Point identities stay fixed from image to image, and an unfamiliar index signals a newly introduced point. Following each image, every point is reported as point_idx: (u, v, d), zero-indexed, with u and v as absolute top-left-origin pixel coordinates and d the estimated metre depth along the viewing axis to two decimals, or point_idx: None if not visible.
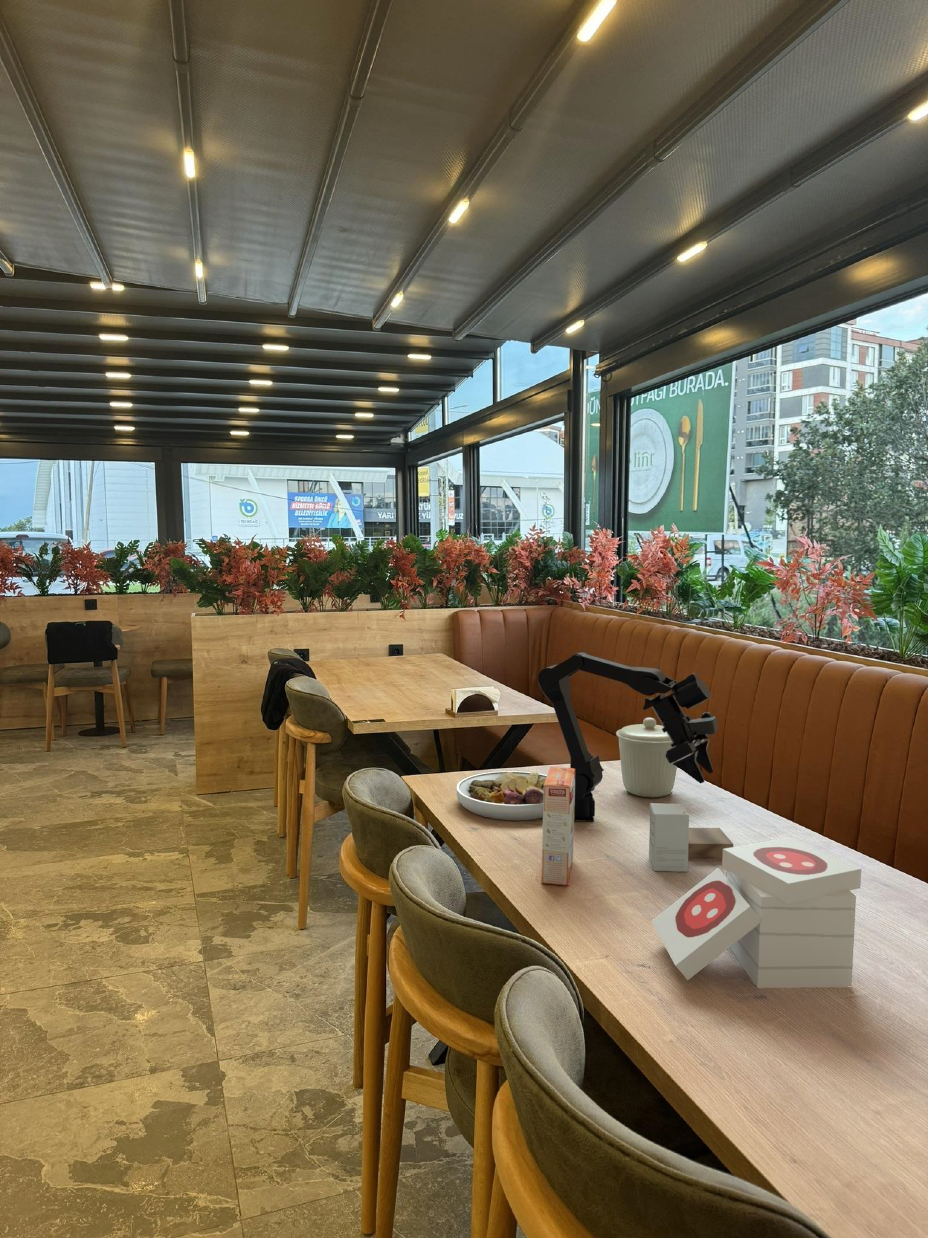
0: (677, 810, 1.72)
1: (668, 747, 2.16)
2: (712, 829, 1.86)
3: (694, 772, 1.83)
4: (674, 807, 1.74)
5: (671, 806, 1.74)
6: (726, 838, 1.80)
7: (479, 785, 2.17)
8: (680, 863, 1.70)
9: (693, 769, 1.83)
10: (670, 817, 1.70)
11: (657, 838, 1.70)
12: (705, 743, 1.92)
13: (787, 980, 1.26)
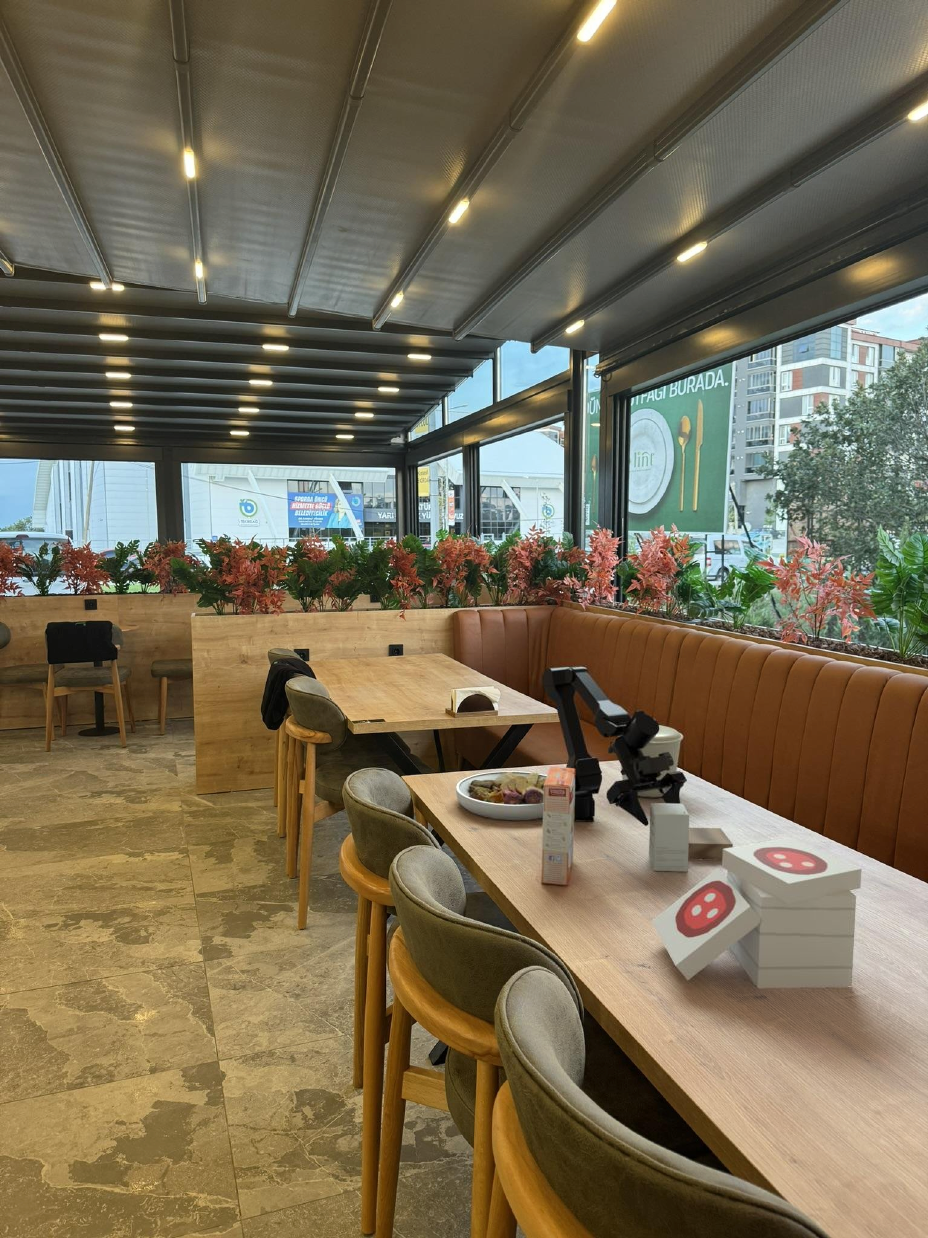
0: (677, 810, 1.71)
1: (668, 747, 2.16)
2: (713, 829, 1.86)
3: (637, 813, 1.74)
4: (674, 806, 1.74)
5: (671, 806, 1.74)
6: (726, 838, 1.80)
7: (479, 785, 2.17)
8: (680, 863, 1.70)
9: (635, 810, 1.74)
10: (670, 817, 1.70)
11: (657, 838, 1.70)
12: (673, 786, 1.79)
13: (787, 980, 1.26)
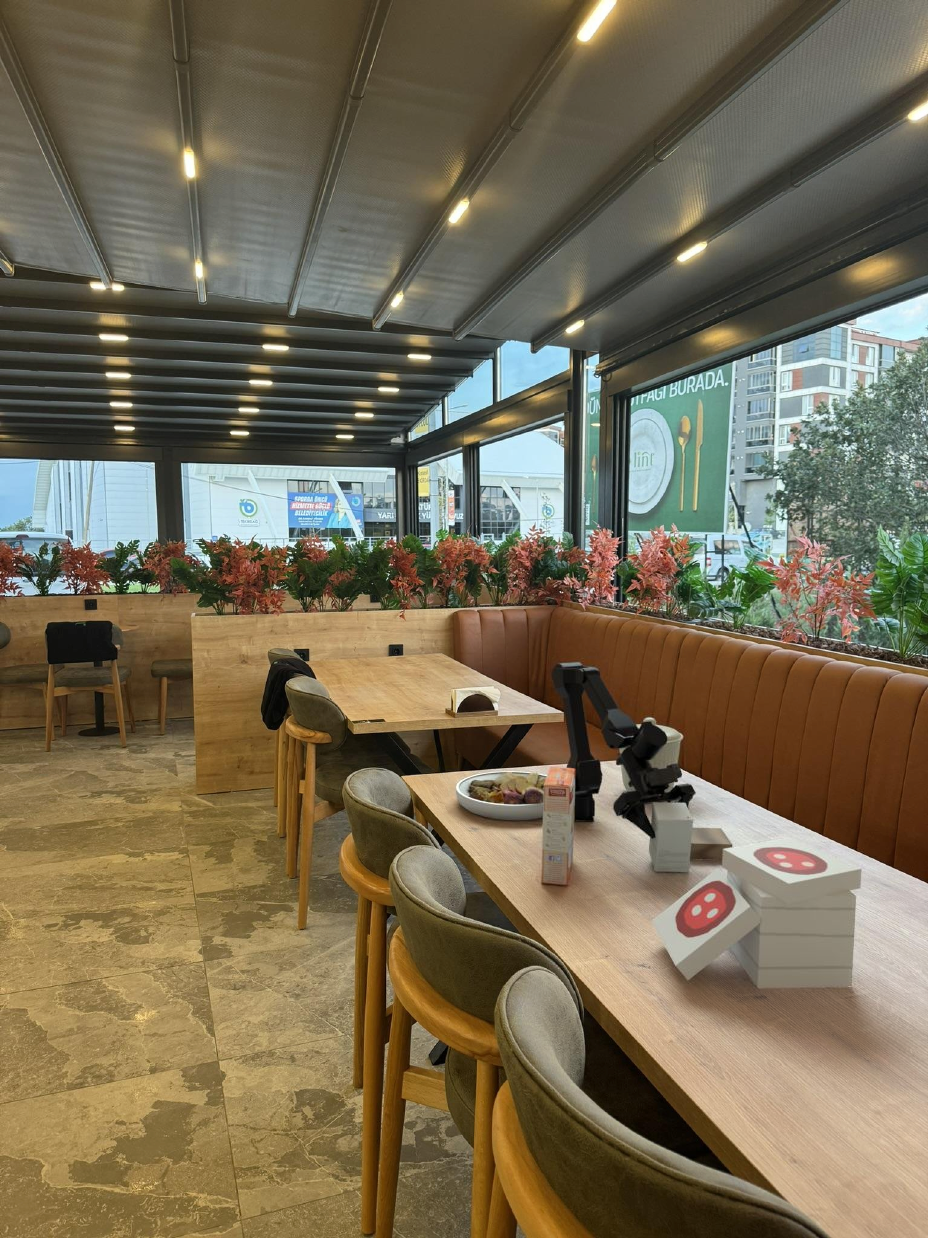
0: (681, 814, 1.69)
1: (668, 747, 2.16)
2: (714, 829, 1.86)
3: (643, 826, 1.71)
4: (677, 808, 1.71)
5: (674, 807, 1.71)
6: (726, 838, 1.80)
7: (479, 785, 2.17)
8: (681, 865, 1.70)
9: (642, 822, 1.71)
10: (674, 823, 1.67)
11: (660, 842, 1.68)
12: (682, 799, 1.76)
13: (787, 980, 1.26)
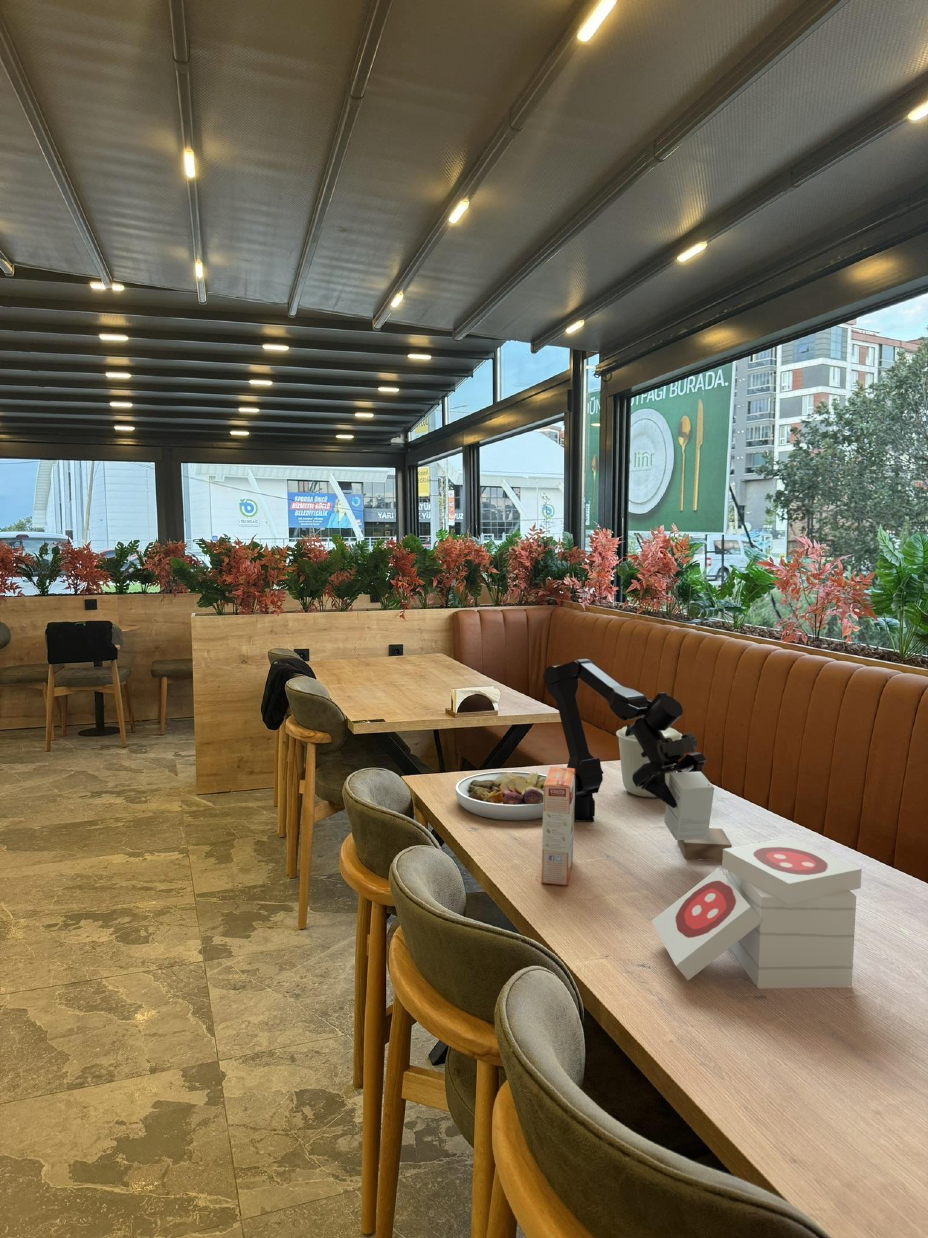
0: (701, 782, 1.72)
1: None
2: (715, 829, 1.86)
3: (664, 796, 1.73)
4: (695, 777, 1.74)
5: (692, 776, 1.74)
6: (726, 839, 1.80)
7: (478, 785, 2.17)
8: (701, 832, 1.73)
9: (663, 792, 1.73)
10: (696, 791, 1.70)
11: (682, 810, 1.71)
12: (695, 767, 1.79)
13: (787, 980, 1.26)
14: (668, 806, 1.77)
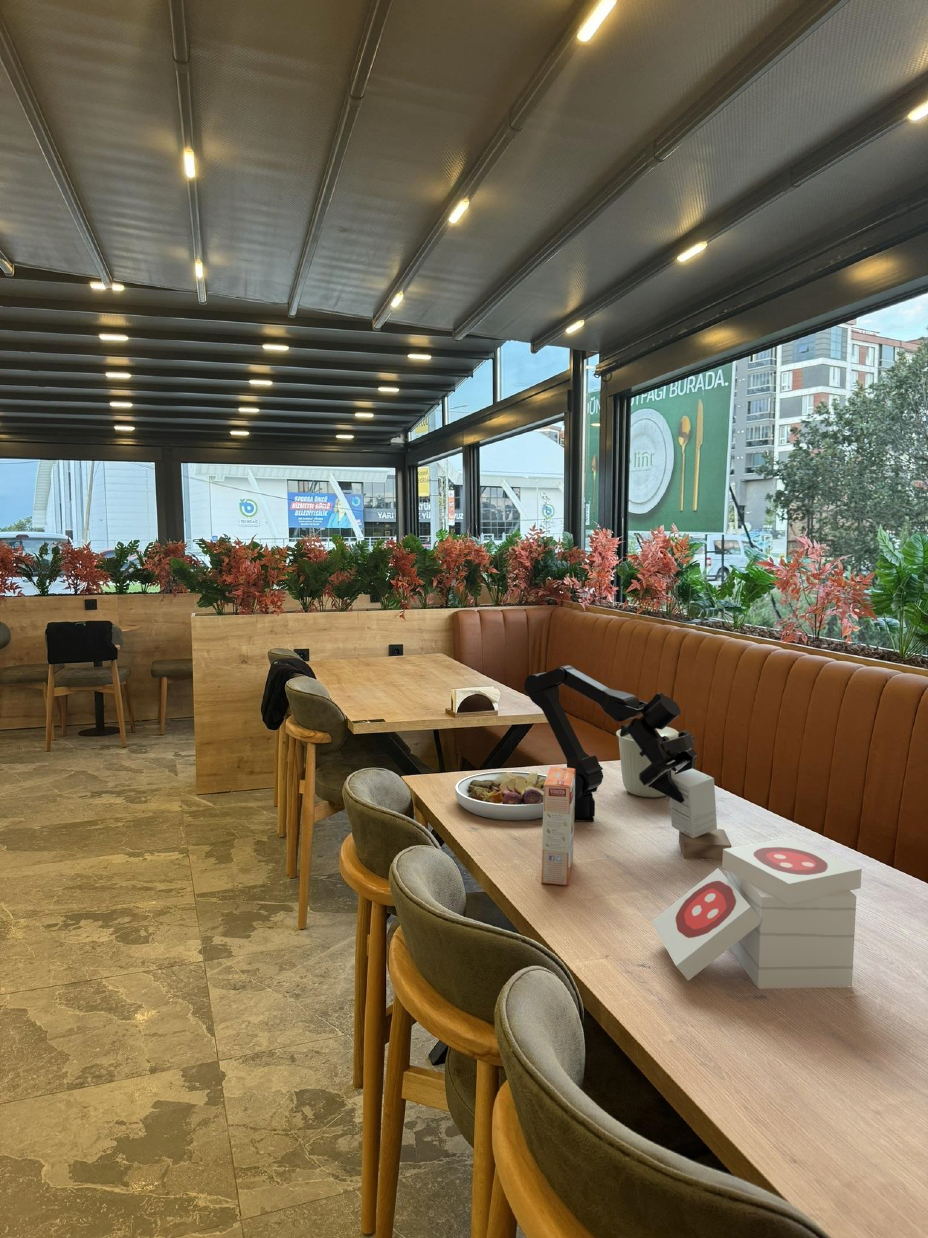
0: (700, 777, 1.81)
1: None
2: (716, 830, 1.85)
3: (671, 792, 1.80)
4: (692, 774, 1.83)
5: (689, 774, 1.83)
6: (726, 840, 1.79)
7: (478, 785, 2.17)
8: (711, 823, 1.82)
9: (670, 789, 1.80)
10: (701, 786, 1.79)
11: (693, 808, 1.79)
12: (690, 763, 1.88)
13: (787, 980, 1.26)
14: (674, 809, 1.84)
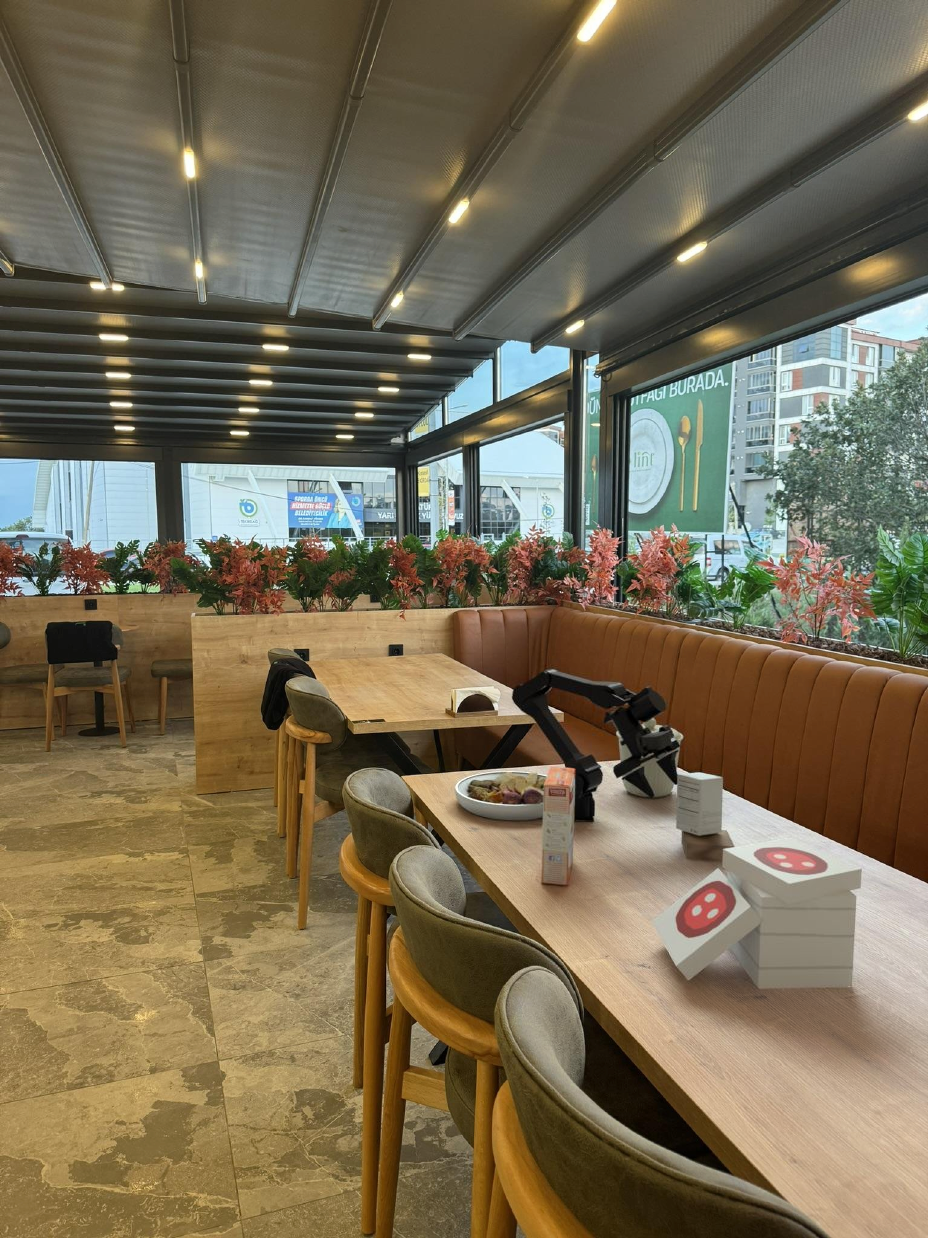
0: (709, 776, 1.84)
1: None
2: None
3: (643, 787, 1.86)
4: (700, 774, 1.86)
5: (697, 774, 1.86)
6: (729, 840, 1.79)
7: (478, 785, 2.17)
8: (717, 825, 1.82)
9: (641, 784, 1.86)
10: (711, 782, 1.81)
11: (702, 803, 1.79)
12: (670, 755, 1.92)
13: (787, 980, 1.26)
14: (680, 808, 1.84)
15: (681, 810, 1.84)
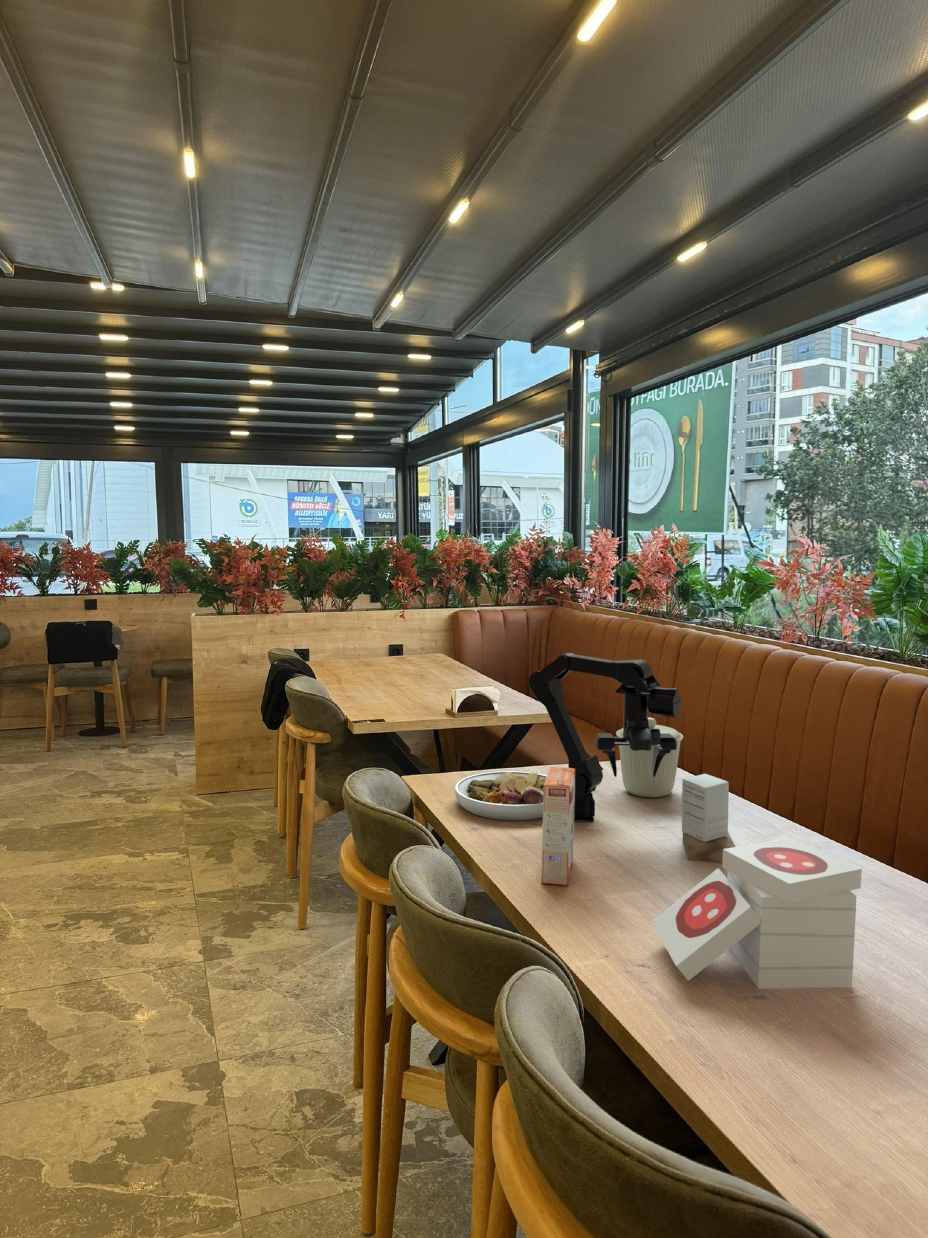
0: (715, 780, 1.81)
1: None
2: None
3: (611, 764, 1.95)
4: (706, 777, 1.82)
5: (703, 777, 1.83)
6: (730, 841, 1.78)
7: (478, 785, 2.17)
8: (723, 829, 1.80)
9: (610, 761, 1.95)
10: (716, 788, 1.78)
11: (708, 810, 1.77)
12: (658, 752, 1.92)
13: (787, 980, 1.26)
14: (686, 813, 1.82)
15: (686, 815, 1.82)
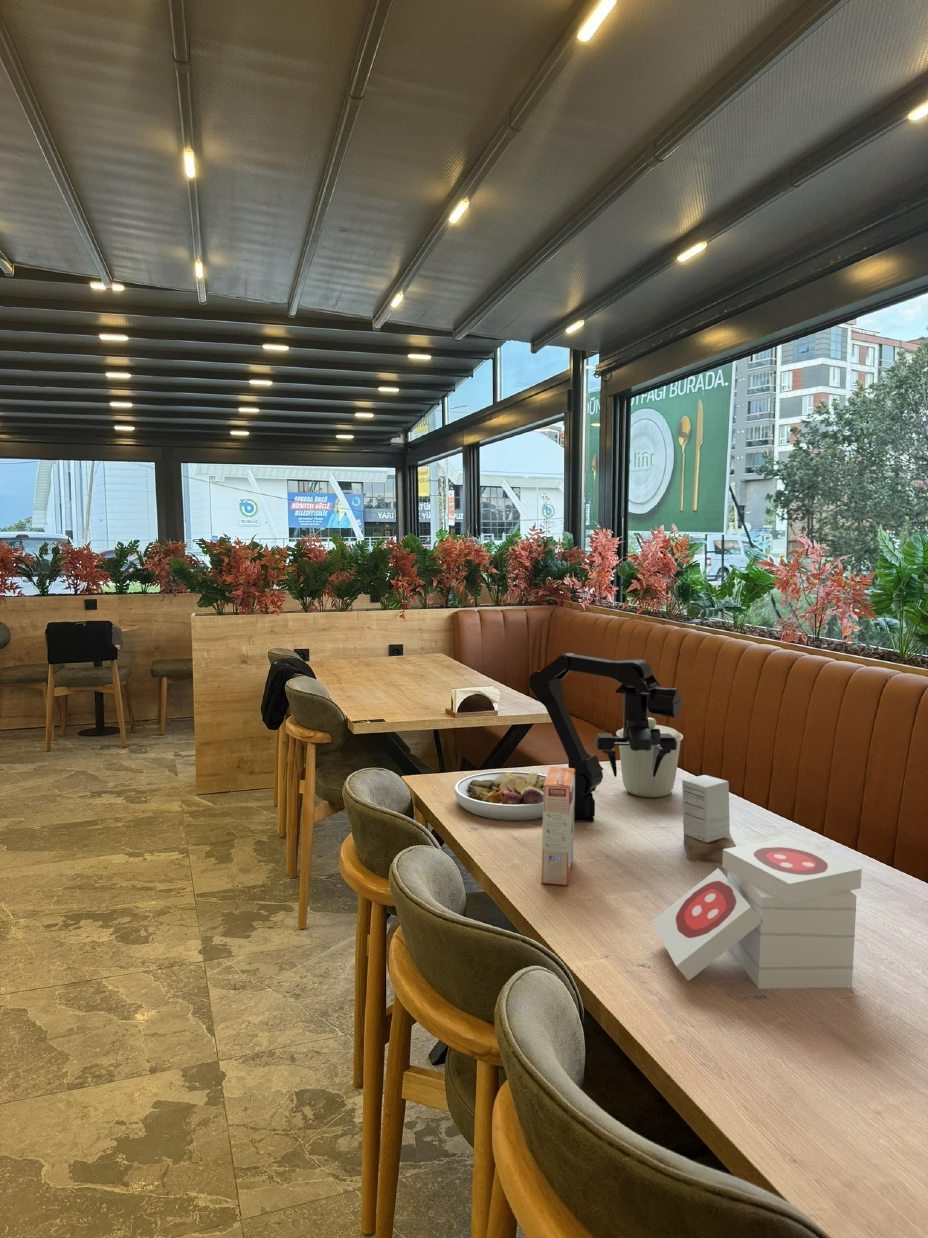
0: (715, 780, 1.80)
1: None
2: None
3: (611, 764, 1.95)
4: (706, 778, 1.82)
5: (702, 778, 1.82)
6: (731, 842, 1.78)
7: (478, 785, 2.17)
8: (725, 829, 1.79)
9: (610, 761, 1.95)
10: (716, 787, 1.78)
11: (709, 810, 1.77)
12: (658, 752, 1.92)
13: (787, 980, 1.26)
14: (687, 814, 1.81)
15: (688, 816, 1.81)
